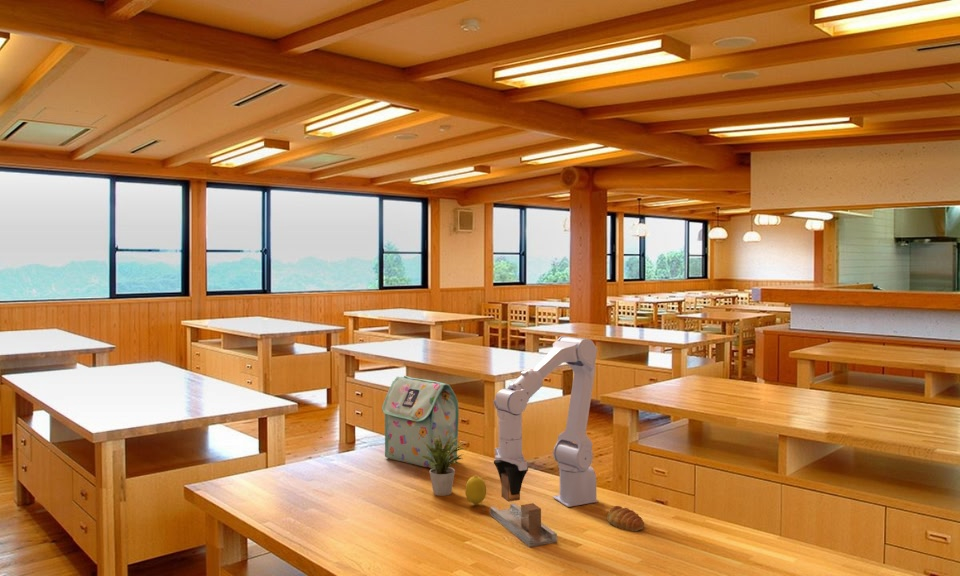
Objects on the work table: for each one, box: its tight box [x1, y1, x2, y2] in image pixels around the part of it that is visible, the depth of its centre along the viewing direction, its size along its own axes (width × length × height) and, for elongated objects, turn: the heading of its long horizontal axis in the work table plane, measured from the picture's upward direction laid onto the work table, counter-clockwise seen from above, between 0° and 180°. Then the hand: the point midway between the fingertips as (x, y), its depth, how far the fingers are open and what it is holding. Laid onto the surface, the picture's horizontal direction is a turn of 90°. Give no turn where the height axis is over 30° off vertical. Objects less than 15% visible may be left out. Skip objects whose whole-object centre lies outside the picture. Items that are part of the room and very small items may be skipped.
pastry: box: [606, 505, 645, 532], centre depth 171 cm, size 9×7×4 cm
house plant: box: [421, 435, 469, 497], centre depth 194 cm, size 14×14×16 cm
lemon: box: [464, 475, 487, 506], centre depth 185 cm, size 6×6×8 cm
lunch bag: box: [381, 375, 460, 469], centre depth 227 cm, size 23×16×27 cm
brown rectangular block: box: [500, 473, 521, 503], centre depth 175 cm, size 3×4×6 cm
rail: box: [489, 502, 558, 548], centre depth 169 cm, size 7×22×7 cm, turn 23°
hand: (510, 491), depth 175 cm, fingers closed on brown rectangular block, 4 cm apart
